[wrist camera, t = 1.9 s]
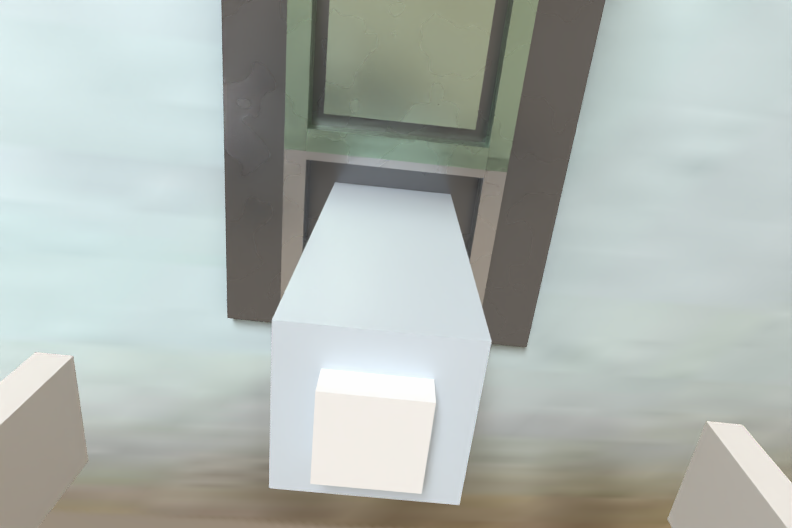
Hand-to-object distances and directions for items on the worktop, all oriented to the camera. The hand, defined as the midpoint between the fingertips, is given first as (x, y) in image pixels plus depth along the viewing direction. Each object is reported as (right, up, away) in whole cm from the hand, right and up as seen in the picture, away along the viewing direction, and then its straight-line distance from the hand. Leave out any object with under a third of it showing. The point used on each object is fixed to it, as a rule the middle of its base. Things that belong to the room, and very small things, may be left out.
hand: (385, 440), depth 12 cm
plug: (0, +5, +11) cm, 12 cm away
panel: (0, +8, +10) cm, 13 cm away
